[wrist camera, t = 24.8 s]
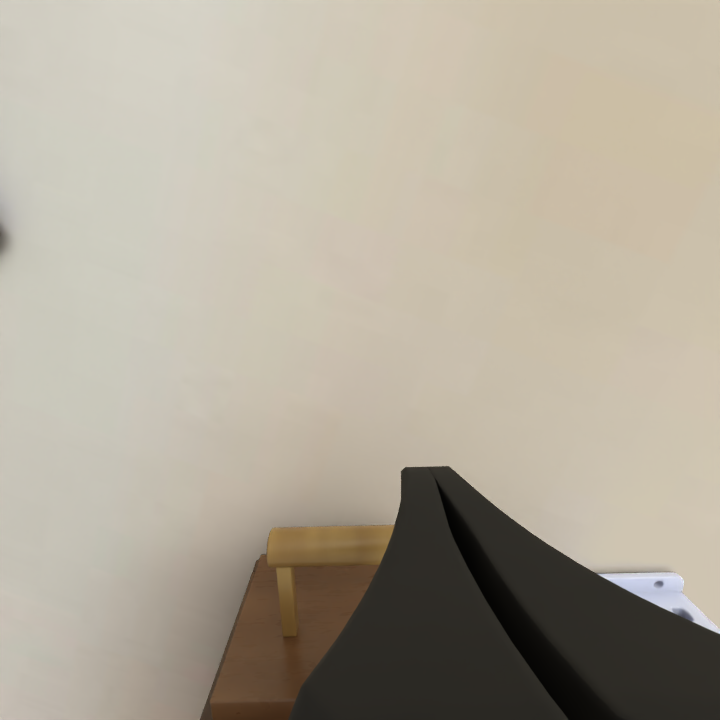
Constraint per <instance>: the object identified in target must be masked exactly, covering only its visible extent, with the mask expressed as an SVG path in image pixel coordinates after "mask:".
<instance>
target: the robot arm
mask: <svg viewBox="0 0 720 720" xmlns="http://www.w3.org/2000/svg"><path fill="white" fill-rule="evenodd" d="M683 585H684V580H683V578H682V577H681V576H679V575H678V574H677V573H675V572H651V573H609V574H596V573H594V572H592V571H591V570H589V569H587V568H586V567H584V566H582V565H580V564H579V563H577V562H575V561H574V560H572V559H570V558H569V557H567V556H566V555H564V554H562V553H561V552H559V551H558V550H556V549H554V548H553V547H551V546H550V545H548V544H547V543H545V542H544V541H542V540H541V539H539V538H538V537H536V536H535V535H533V534H532V533H530V532H529V531H528V530H526V529H525V528H524V527H522V526H521V525H519V524H518V523H517V522H515V521H514V520H513V519H511V518H510V517H509V516H507V515H506V514H505V513H503V512H502V511H501V510H500V509H498V508H497V507H496V506H495V505H493V504H492V503H491V502H490V501H488V500H487V499H486V498H485V497H484V496H482V495H481V494H480V493H479V492H478V491H477V490H475V489H474V488H473V487H472V486H471V485H470V484H469V483H467V482H466V481H465V480H464V479H463V478H462V477H461V476H459V475H458V474H457V473H456V472H455V471H454V470H452V469H451V468H450V467H449V466H442V467H405V468H404V469H403V470H402V471H401V503H400V508H399V512H398V516H397V519H396V522H395V526H394V529H393V532H392V535H391V538H390V541H389V543H388V546H387V548H386V551H385V553H384V556H383V558H382V560H381V563H380V565H379V567H378V569H377V571H376V573H375V575H374V577H373V579H372V581H371V583H370V585H369V587H368V589H367V591H366V592H365V594H364V596H363V598H362V600H361V601H360V603H359V604H358V606H357V608H356V609H355V611H354V612H353V614H352V616H351V617H350V619H349V620H348V622H347V624H346V625H345V627H344V628H343V630H342V632H341V633H340V635H339V636H338V637H337V639H336V640H335V642H334V643H333V645H332V646H331V647H330V649H329V650H328V651H327V653H326V654H325V655H324V657H323V658H322V659H321V661H320V662H319V663H318V664H317V666H316V667H315V668H314V670H313V671H312V672H311V674H310V675H309V676H308V678H307V679H306V680H305V682H304V683H303V684H302V686H301V688H300V691H299V693H298V695H297V698H296V700H295V703H294V706H293V708H292V711H291V713H290V716H289V719H288V720H720V629H719V628H718V627H717V626H716V625H715V624H714V623H713V622H712V621H711V620H710V619H709V618H708V617H707V616H706V615H705V614H704V613H703V612H702V611H701V610H700V609H698V608H697V607H696V606H695V605H694V604H693V603H692V602H691V601H690V600H689V599H688V598H687V597H686V596H685V595H684V594H683V593H682V590H683Z"/></svg>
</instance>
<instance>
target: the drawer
mask: <svg viewBox="0 0 720 720" xmlns="http://www.w3.org/2000/svg"><path fill="white" fill-rule="evenodd" d="M394 526H395V525H368V526H326V527H284V528H272V529H271V531H270V534H269V538H268V543H267V554H266V555H261V556H260V559H259V562H258V565H257V568H256V571H255V573H254V576H253V579H252V582H251V585H250V588H249V591H248V593H247V596H246V599H245V602H244V605H243V608H242V611H241V613H240V616H239V619H238V622H237V625H236V628H235V631H234V633H233V636H232V639H231V642H230V645H229V648H228V651H227V654H226V656H225V659H224V662H223V665H222V668H221V671H220V674H219V676H218V679H217V682H216V685H215V688H214V691H213V694H212V696H211V699H210V707H211V713H212V719H213V720H288V719H289V716H290V713H291V711H292V708H293V706H294V703H295V700H296V698H297V695H298V693H299V691H300V688H301V686H302V684H303V683H304V682H305V680H306V679H307V678H308V676H309V675H310V674H311V672H312V671H313V670H314V668H315V667H316V666H317V664H318V663H319V662H320V661H321V659H322V658H323V657H324V655H325V654H326V653H327V651H328V650H329V649H330V647H331V646H332V645H333V643H334V642H335V640H336V639H337V637H338V636H339V635H340V633H341V632H342V630H343V628H344V627H345V625H346V624H347V622H348V620H349V619H350V617H351V616H352V614H353V612H354V611H355V609H356V608H357V606H358V604H359V603H360V601H361V600H362V598H363V596H364V594H365V592H366V591H367V589H368V587H369V585H370V583H371V581H372V579H373V577H374V575H375V573H376V571H377V569H378V567H379V565H380V563H381V560H382V558H383V556H384V553H385V551H386V548H387V546H388V543H389V541H390V538H391V535H392V532H393V529H394Z"/></svg>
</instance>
